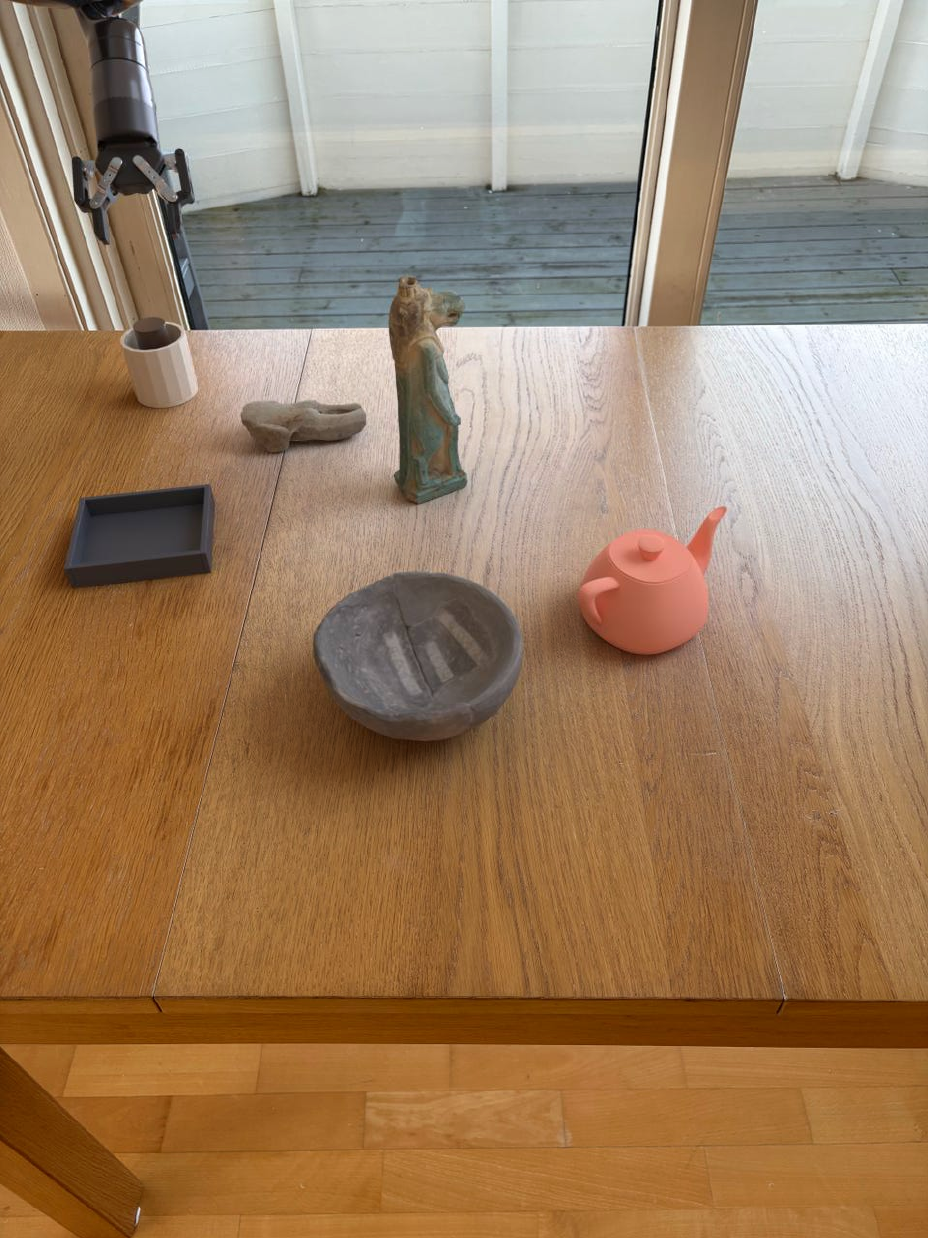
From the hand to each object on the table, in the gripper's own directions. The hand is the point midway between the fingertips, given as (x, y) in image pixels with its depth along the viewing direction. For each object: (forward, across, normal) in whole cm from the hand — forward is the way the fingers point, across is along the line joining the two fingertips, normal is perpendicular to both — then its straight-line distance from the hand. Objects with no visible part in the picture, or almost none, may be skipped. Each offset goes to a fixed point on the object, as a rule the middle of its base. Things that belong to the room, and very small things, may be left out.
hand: (140, 239), depth 118 cm
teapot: (+54, +50, -29) cm, 79 cm away
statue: (+36, +32, -11) cm, 50 cm away
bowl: (+59, +27, -34) cm, 73 cm away
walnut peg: (+17, 0, +7) cm, 18 cm away
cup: (+17, 0, +7) cm, 19 cm away
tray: (+40, 0, -16) cm, 43 cm away
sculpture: (+27, +18, -2) cm, 33 cm away
